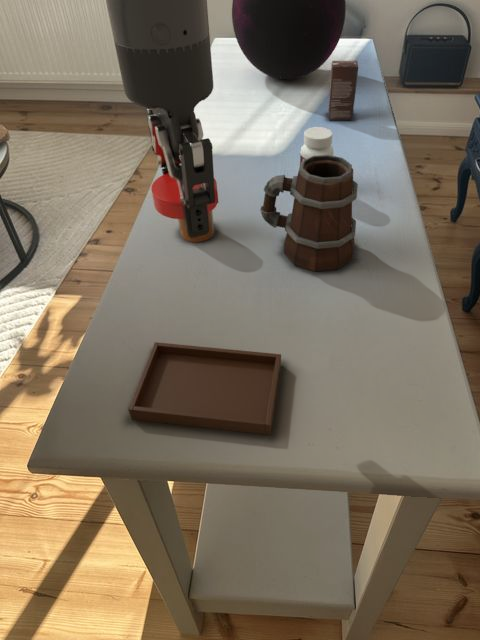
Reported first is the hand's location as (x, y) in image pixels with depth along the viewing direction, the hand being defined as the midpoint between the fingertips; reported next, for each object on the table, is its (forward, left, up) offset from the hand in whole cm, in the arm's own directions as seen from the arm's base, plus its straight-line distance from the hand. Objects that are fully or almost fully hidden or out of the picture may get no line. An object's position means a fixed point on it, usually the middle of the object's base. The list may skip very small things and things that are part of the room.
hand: (187, 216), depth 50 cm
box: (+16, +82, -22) cm, 86 cm away
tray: (+2, -6, -22) cm, 23 cm away
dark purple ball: (0, +109, -22) cm, 111 cm away
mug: (+12, +26, -22) cm, 36 cm away
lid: (0, 0, +3) cm, 3 cm away
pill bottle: (+12, +46, -22) cm, 52 cm away
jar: (-8, +29, -22) cm, 37 cm away
